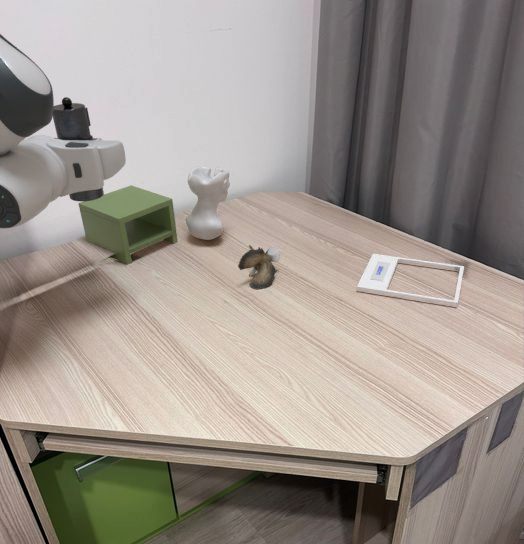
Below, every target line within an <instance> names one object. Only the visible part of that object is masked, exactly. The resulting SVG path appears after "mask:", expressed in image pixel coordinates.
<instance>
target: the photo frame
mask: <svg viewBox="0 0 524 544" xmlns="http://www.w3.org/2000/svg"><path fill="white" fill-rule="evenodd" d="M398 264H403V265H411V266H418V267H425V268H431V269H439V270H445V271H453V272H458V277H457V282H456V288H455V294H454V299H448V298H442V297H435V296H430V295H424V294H423V295H422V294H416V293H410V292H404V291H399V290H393V289H389V286H390V284H391V282H392V279H393V276H394V274H395V272H396V269H397V267H398ZM464 270H465V266H463V265H457V264H451V263H443V262H435V261H428V260H420V259H415V258H406V257H401V256H394V255H385V254H379V253H372V255H371V256H370V259H369V261H368V263H367V265H366V267H365V269H364V271H363V273H362V276H361V278H360V279H359V282H358V284H357V285H356V292H360V293H365V294H371V295H379V296H386V297H391V298H397V299H403V300H410V301H416V302H422V303H428V304H434V305H441V306H446V307H451V308H452V307H453V308H458V305H459V299H460V293H461V287H462V282H463V275H464Z"/></svg>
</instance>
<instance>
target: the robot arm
mask: <svg viewBox="0 0 524 544" xmlns="http://www.w3.org/2000/svg"><path fill="white" fill-rule="evenodd" d="M54 106H55V103H54V90H53V87H52V84H51V81H50V79H49V78H48V76H47V75H46V73H45V72H44V70H42V69H41V67H40V66H39V65H37V63H36V62H34V60H32V59H31V58H30V57H29V56H28V55H27V54H25V53H24V52H23V51H22V50H20V49H19V48H18V47H17V46H16V45H14V44H13V43H12V42H10V41H9V40H8V39H7V38H5V36H4V35H2V34H1V33H0V229H12V228H17V227H20V226H22V225H24V224H26V223H28V222H29V221H31V220H33V219H34V218H35V217H37V216H38V215H39V214H41V213H42V212H43V211H44V210H46V208H47V207H48V206H49V205H50V203H52V202H54V201H56V200H57V199H58V198H62V197H66V196H69V194H72V193H76V192H83V191H90V190H97V189H100V188H102V187H103V188H104V186H105V181H107V180H110V179H111V178H113V177H114V176H115V175H116V174H118V173H119V172H120V171H121V170H122V169H123V168H124V167H125V165H126V161H127V158H126V152H125V146H124V144H123V142H122V141H120V140H107V139H106V140H103V139H102V138H101V137H93V138H92V139H91V140H60V139H58V137H52V136H50V135H46V134H36V133H37V132H39V131H40V130H42V129H44V128H45V127H47V126H48V125H49V124H50V123H51V122H52V120H53V108H54ZM34 134H35V135H34Z"/></svg>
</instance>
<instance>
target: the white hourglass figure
mask: <svg viewBox="0 0 524 544" xmlns="http://www.w3.org/2000/svg"><path fill="white" fill-rule="evenodd" d="M211 173H212V169H211V168H210V167H208V166H196V167H193V168H192V169H191V171H190V172H189V173H188V176H187V185H188V187H189V189H190V191H191V192H192V193H193V194H194V195H196V197H197V201H196V203H195V206H194V207H193V208H192V210H191V212H190V213H189V214H187V215H186V217H185V224H186V226H187V229H188V231H189V233H190V235H191V236H193V237H194V238H197V239H200V240H204V241H212V240H215V239H216V238H218V237H219V236H221V235H222V233H223V232H224V223H223V222H222V220H221V219H220V217H219V216H218V211H217V210H218V205H219V204H220V203H222V202H225V201H226V200H227V198H228V194H229V192H228V190H229V188H230V185H231V183H230V180H229V179H230V173H229V171H227V170H226V171H224V168H223V167H221V166H219V167H216V168H215V169H214V174H213V176H211Z"/></svg>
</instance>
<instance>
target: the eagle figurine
mask: <svg viewBox="0 0 524 544" xmlns="http://www.w3.org/2000/svg"><path fill="white" fill-rule="evenodd" d="M248 247H249V250H247V252H245V253H244V254H243V255H241V257H240V260H239V261H238V264H237V268H238V269H239V270H240V271H243V270H247V269H250V271H249V274H248V276H249V277H250V276H252V275H254V274H255V275H254V276H253V278H252V280H251V281H250V282H249V283H248V284H249V286H250V288H252V289H253V290H262V289H263V288H264V289H266V288H267V287H269V286H270V285H271V284H272V282H273V281H274V279H275V278H274V276H275V274H276V272H277V270H276V266H274V264H273V263H277V262H278V263H279V261H280V259H281V258H280V257H281V253H280V252H281V251H280V250H279V248H277V247H275V246H270V247H269V248H268V249H267V250H266V251H265V250H264V249H263V248H262V247H259V246H258V247H257V249H254V248H253V246H252V245H251V244H249V245H248Z"/></svg>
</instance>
